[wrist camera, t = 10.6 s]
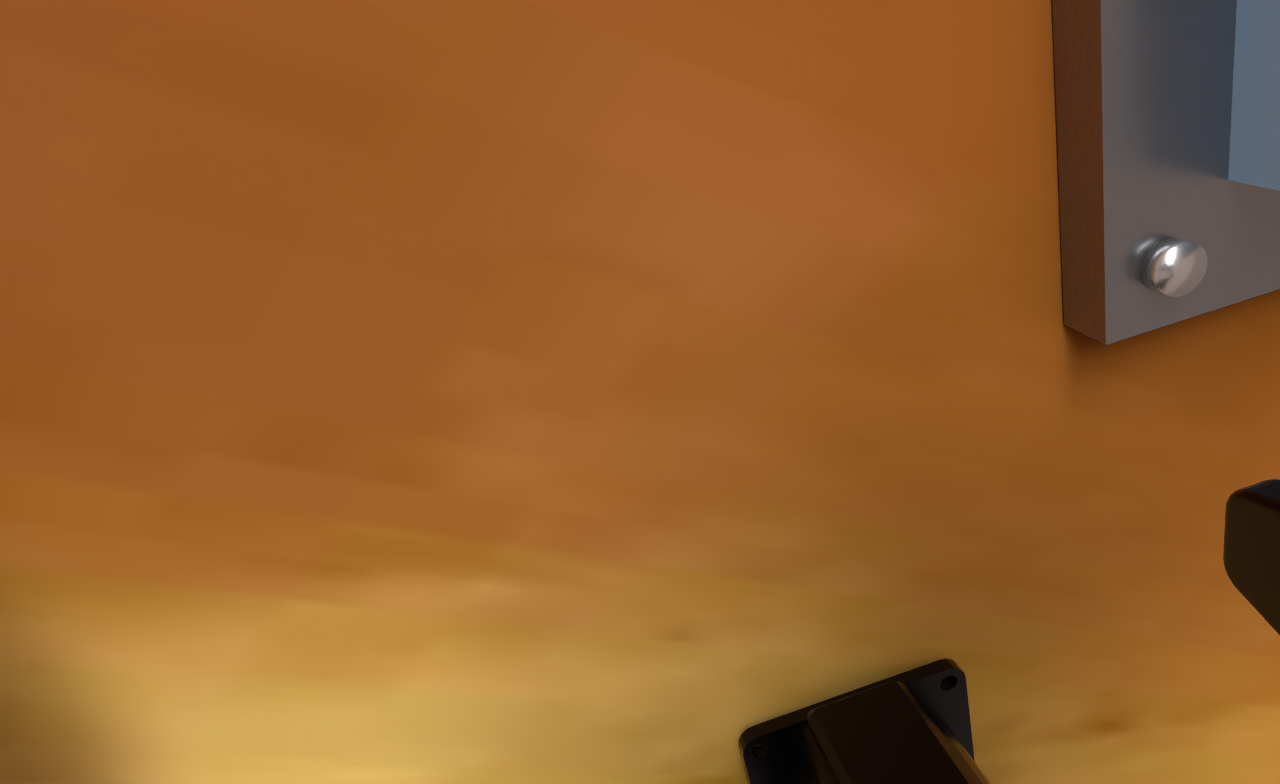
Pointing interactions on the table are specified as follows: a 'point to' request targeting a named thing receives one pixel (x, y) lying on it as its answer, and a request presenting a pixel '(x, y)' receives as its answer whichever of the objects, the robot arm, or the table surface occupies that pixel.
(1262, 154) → the blue square ring
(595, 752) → the table surface
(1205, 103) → the keeper plate
